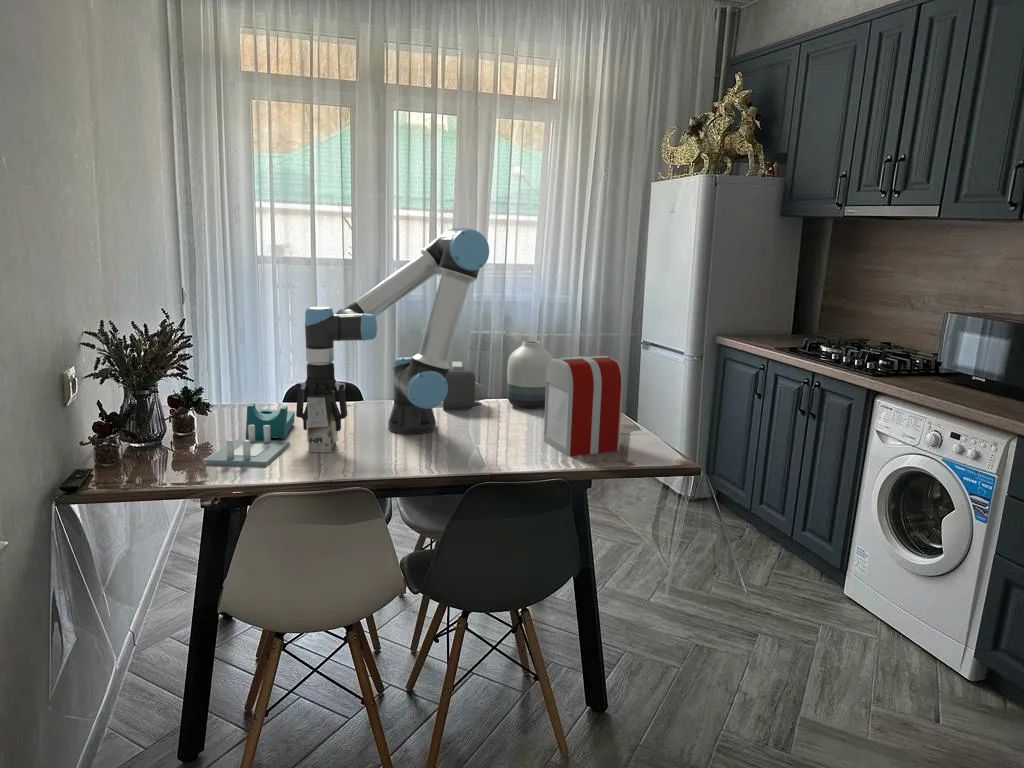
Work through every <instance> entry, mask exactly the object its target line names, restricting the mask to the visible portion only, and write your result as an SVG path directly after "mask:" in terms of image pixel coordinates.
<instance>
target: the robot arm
mask: <svg viewBox="0 0 1024 768" xmlns="http://www.w3.org/2000/svg"><path fill="white" fill-rule="evenodd" d="M489 257H490V245H489V242H488V240H487V238H486V237H485V235H483V234H482V233H481V232H479V230H475V229H472V228H469V227H464V228H451V229H448V230H446V231H444V232H443V233H441V234H440V235H439V236H438V237H436V238H435V239H434V240H432V241H431V242H430V243H428V244H427V245H426V246H425V247H423V248H422V249H421V251H420V254H419V255H418V256H417V257H415V258H414V259H412V260H410V262H408V263H407V264H405V265H404V266H402V267H401V268H400V269H398V270H396V271H395V272H393V273H392V274H391V275H389V276H388V277H387V278H385V279H384V280H383V281H381V282H380V283H379V284H377V285H376V286H374V287H373V288H371V289H370V290H368V291H367V292H365V293H364V294H363V295H361V296H360V297H359V298H357V299H356V300H355V301H353V302H352V303H351V304H349V305H348V306H346V307H342V308H340V309H338V310H337V311H336V312H335V313H334V309H333V308H332V307H330V306H310V307H307V309H305V312H304V316H305V317H304V318H305V319H304V331H305V333H304V334H305V335H304V337H305V356H306V358H305V359H306V362H307V363H306V380H305V381H299V382H297V383H296V384H295V387H296V391H297V394H296V395H297V396H296V411H295V417H297V418H301V419H302V424H303V425H302V427H303V430H304V431H306V442H307V443H309V442H308V409H307V404H306V406H305V408H304V402H305V389H306V386H307V388H308V389H309V391H310V392H309V395H315V394H325V395H330V393H333V392H332V391H333V390H334V388H335V387H336V390H337V394H338V395H337V396H338V403H339V405H338V404H337V402H336V398H335V399H334V396H333V397H332V413H333V415H334V418H335V419H334V420H333V421H332V428H333V443H336V444H337V442H338V440H339V432H340V431H341V429H342V419H345V418H347V416H348V409H347V401H346V399H347V398H346V394H345V391H346V386H347V385H346V383H345V382H342V383H341V382H337V380H336V378H335V363H334V361H335V349H334V348H335V347H334V346H335V345H334V344H335V343H334V342H343V341H345V342H346V341H363V342H364V341H371V340H374V339H376V337H377V333H378V323H377V322H378V321H377V317H379V315H382V314H383V313H384V312H386V311H387V310H388V309H390V308H391V307H393V305H395V304H396V303H398V302H399V301H401V300H402V299H403V298H405V297H406V296H407V295H409V294H410V293H412V292H413V291H415V290H416V289H418V288H419V287H420V286H421V285H423V284H424V283H426V282H427V281H428V280H430V279H431V278H433V277H434V276H441V277H440V281H439V284H438V287H437V289H436V290H437V291H436V293H435V297H434V299H433V304H432V306H431V310H430V314H429V317H428V320H427V323H426V327H425V330H424V333H423V337H422V340H421V344H420V346H419V349H418V353H415V355H413V356H408V357H405V356H403V357H397V358H395V359H394V360H393V363H392V365H393V366H392V372H393V373H392V375H393V377H392V379H393V382H392V383H393V385H392V386H393V405H392V409H391V412H390V415H389V418H388V422H387V424H388V425H387V426H388V427H387V429H388V430H389V431H390V432H394V433H397V434H404V435H405V434H406V435H407V434H408V435H416V434H417V435H418V434H426V433H429V432H432V431H434V430H436V429H437V428H436V426H437V421H436V418H435V415H434V412H433V408H435V407H437V406H439V405H441V404H443V400H444V399H445V397H446V395H447V392H448V385H447V381H446V378H447V375H448V372H449V366H448V364H449V363H448V362H447V360H448V357H449V353H450V351H451V347H452V344H453V340H454V337H455V334H456V330H457V327H458V324H459V321H460V317H461V314H462V311H463V307H464V304H465V301H466V297H467V296H468V295H467V294H468V291H469V288H470V285H471V284H472V283H473V282H476V281H477V279H478V275H479V272H480V269H482V268H483V267H484V266H485V265H486V264H487V262H488V260H489ZM338 406H339V407H338Z"/></svg>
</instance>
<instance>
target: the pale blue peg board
mask: <svg viewBox="0 0 1024 768" xmlns="http://www.w3.org/2000/svg"><path fill="white" fill-rule="evenodd" d="M263 430H264V441H263V440H255V425H248V436H249V440H246V439H226V440H225V446H224V447H222V448H221V449H219V450H218V451H216V452H215V453H214V454H212V455H211V456H209V457H208V458H207V459H206V460H205V465H210V466H211V465H212V466H213V465H214V466H216V465H217V466H242V467H243V466H244V467H247V466H249V467H250V466H251V467H267V466H269V465H270V464H271V463H272V462H273V461H274V460H275V459H276V458H277V457H279V456H280V455H281V454H282V453H283V452H285V450H286V449H288V448H289V447H290V446H291V441H290V440H289V441H288V440H287V441H285V440H271V439H272V437H270V425H264V426H263Z"/></svg>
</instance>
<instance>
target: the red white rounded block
mask: <svg viewBox="0 0 1024 768" xmlns="http://www.w3.org/2000/svg"><path fill="white" fill-rule="evenodd" d="M623 388H624V378H623V371H622V368H621V365H620V364H619V362H618V361H617V360H615V359H614V358H612V357H610V356H608V355H598V356H597V355H596V356H581V355H579V356H573V357H557V358H556V357H555V358H553V359H552V360H551V361H550V363H549V365H548V369H547V374H546V395H545V407H544V427H543V442H544V443H545V444H547V445H548V446H550V447H552V448H553V449H554V450H556V451H558V452H560V453H561V454H562V455H564V456H566V457H574V456H575V457H576V456H583V455H595V454H596V455H597V454H602V453H611V452H619V451H620V439H621V438H620V437H621V419H622V405H623V404H622V403H623V392H624V391H623Z"/></svg>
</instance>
